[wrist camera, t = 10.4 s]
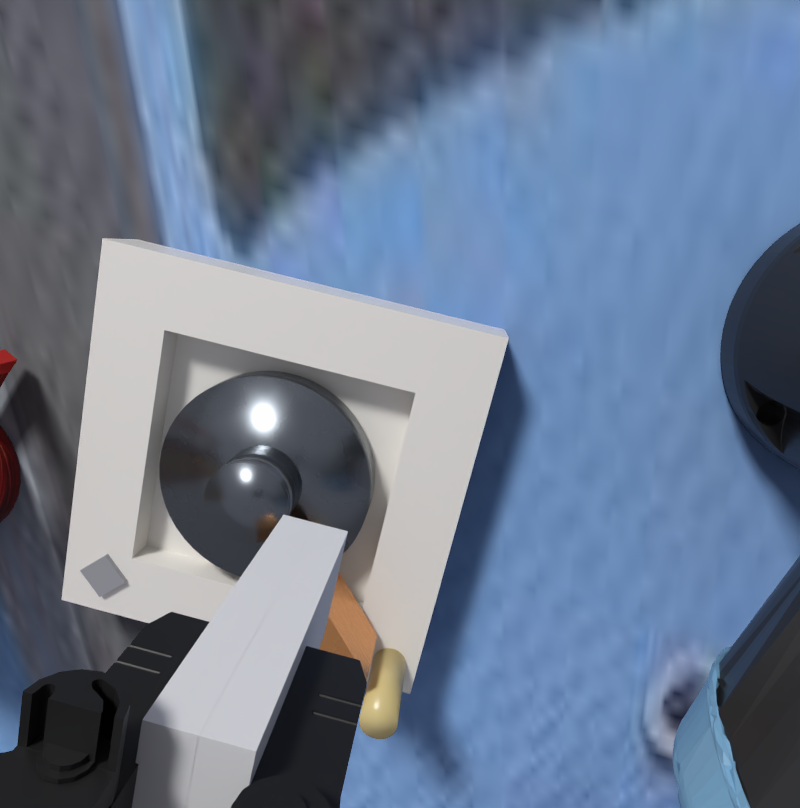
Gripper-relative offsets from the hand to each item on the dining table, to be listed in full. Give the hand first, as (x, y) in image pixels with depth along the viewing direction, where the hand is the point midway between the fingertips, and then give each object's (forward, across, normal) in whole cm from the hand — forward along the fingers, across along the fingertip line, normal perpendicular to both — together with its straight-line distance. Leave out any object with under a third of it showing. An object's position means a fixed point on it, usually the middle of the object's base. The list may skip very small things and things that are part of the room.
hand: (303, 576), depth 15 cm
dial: (+22, -4, -9) cm, 24 cm away
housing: (+24, -6, -7) cm, 26 cm away
